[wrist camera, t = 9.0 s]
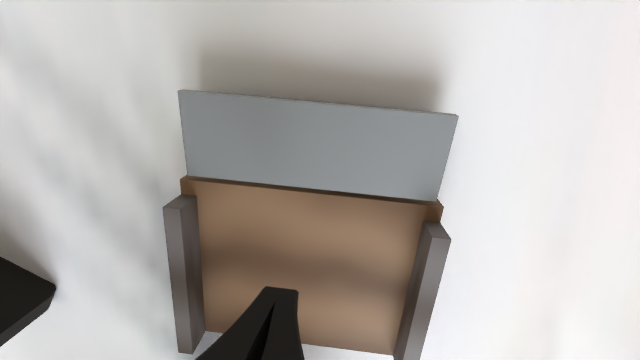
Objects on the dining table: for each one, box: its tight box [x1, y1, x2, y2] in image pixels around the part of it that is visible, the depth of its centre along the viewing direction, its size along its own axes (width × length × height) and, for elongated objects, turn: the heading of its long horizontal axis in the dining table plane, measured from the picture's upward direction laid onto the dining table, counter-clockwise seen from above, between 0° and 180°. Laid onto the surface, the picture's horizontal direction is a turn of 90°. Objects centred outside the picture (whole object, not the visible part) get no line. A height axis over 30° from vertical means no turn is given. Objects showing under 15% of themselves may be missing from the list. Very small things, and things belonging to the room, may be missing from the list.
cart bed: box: [163, 175, 451, 360], centre depth 20 cm, size 12×16×4 cm
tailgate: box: [178, 90, 459, 202], centre depth 17 cm, size 1×15×5 cm
